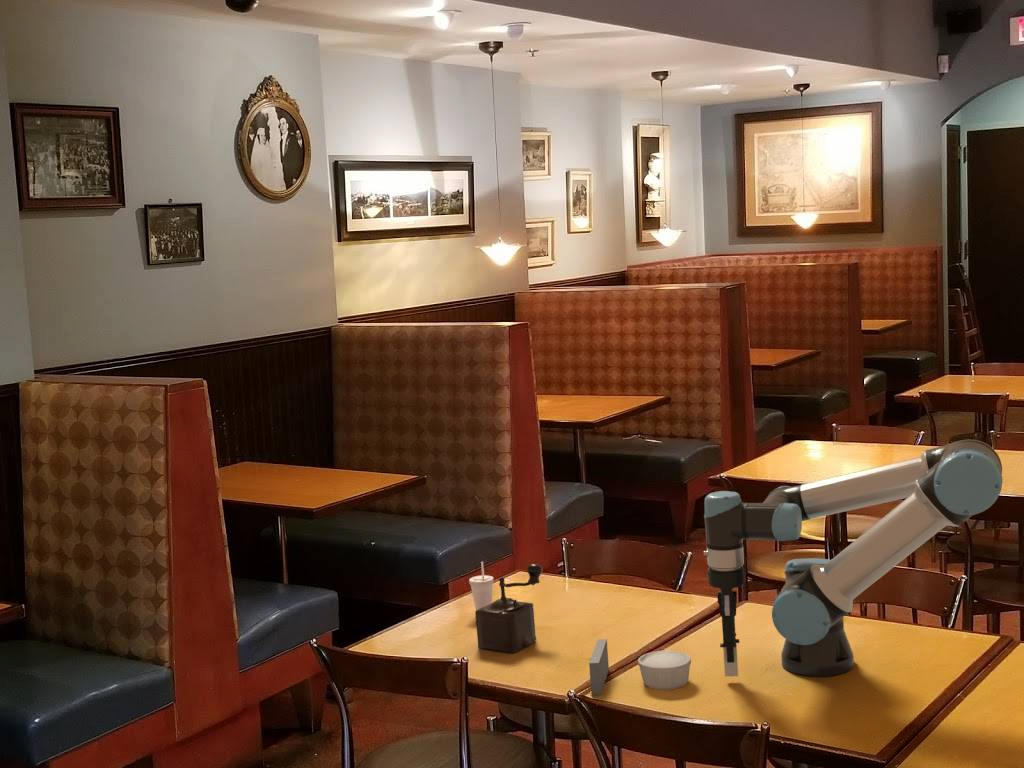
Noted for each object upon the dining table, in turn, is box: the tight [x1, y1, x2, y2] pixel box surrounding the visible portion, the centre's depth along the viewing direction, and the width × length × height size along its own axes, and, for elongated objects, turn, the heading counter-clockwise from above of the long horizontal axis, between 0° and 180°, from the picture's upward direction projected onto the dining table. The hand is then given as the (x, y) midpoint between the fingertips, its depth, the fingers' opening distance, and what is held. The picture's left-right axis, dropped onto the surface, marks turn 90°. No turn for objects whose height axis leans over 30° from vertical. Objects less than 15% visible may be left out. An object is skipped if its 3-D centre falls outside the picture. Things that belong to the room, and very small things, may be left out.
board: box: [588, 638, 610, 696], centre depth 262 cm, size 2×15×7 cm, turn 169°
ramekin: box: [637, 650, 692, 691], centre depth 259 cm, size 11×11×5 cm
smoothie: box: [468, 561, 495, 611], centre depth 315 cm, size 6×6×14 cm
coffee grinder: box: [475, 563, 544, 655], centre depth 292 cm, size 16×11×18 cm
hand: (731, 675), depth 257 cm, fingers closed
